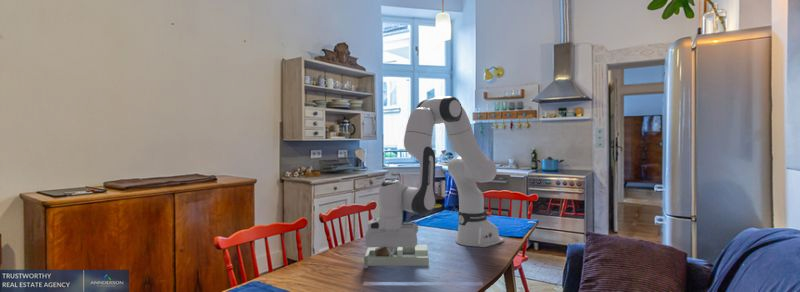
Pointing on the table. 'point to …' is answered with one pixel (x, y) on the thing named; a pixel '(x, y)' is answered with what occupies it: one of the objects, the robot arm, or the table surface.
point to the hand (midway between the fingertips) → (391, 258)
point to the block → (381, 251)
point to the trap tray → (398, 257)
